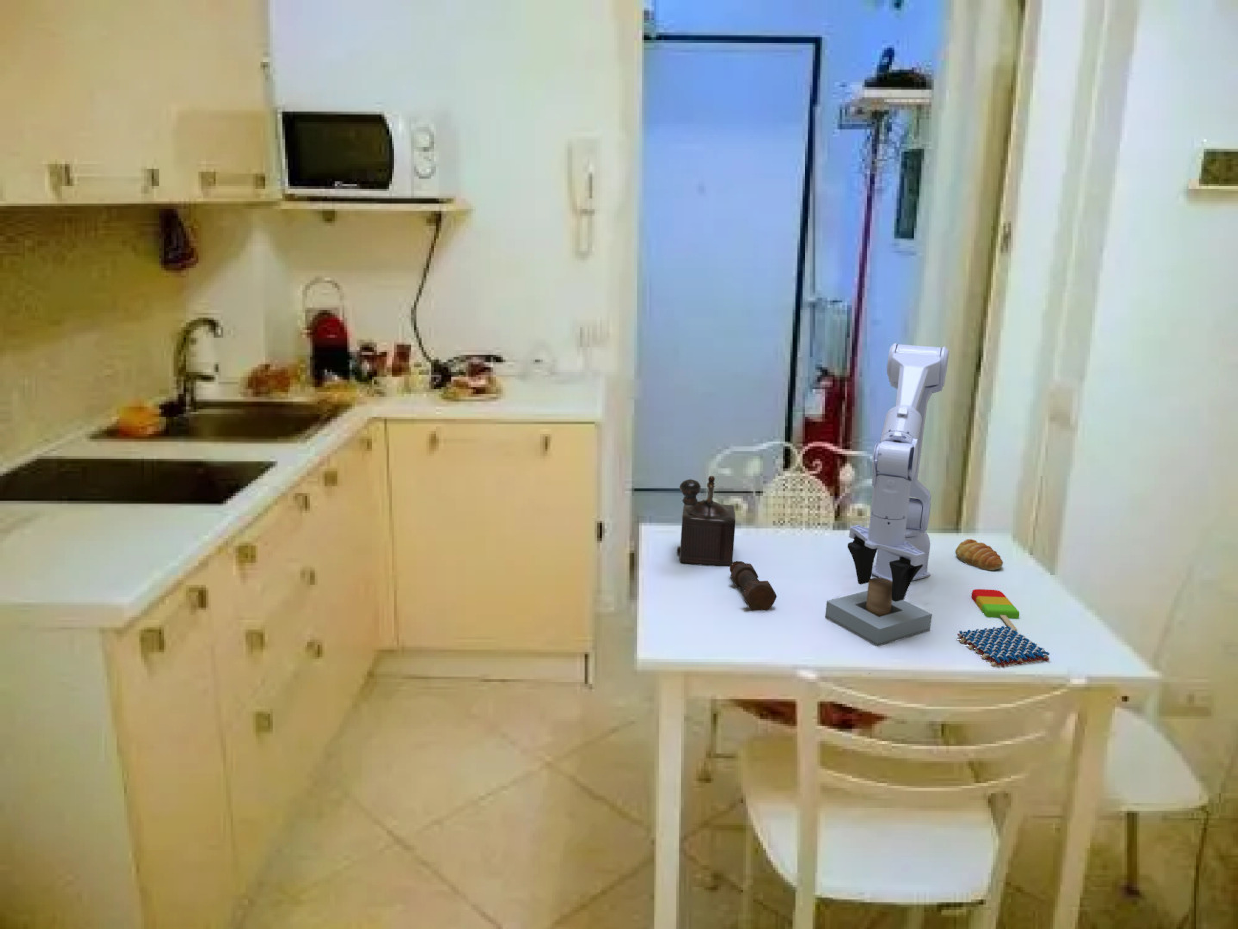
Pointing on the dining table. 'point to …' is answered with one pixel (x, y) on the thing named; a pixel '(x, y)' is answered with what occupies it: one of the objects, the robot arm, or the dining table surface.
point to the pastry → (978, 555)
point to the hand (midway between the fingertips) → (880, 591)
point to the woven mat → (1003, 646)
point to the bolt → (752, 586)
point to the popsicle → (995, 605)
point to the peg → (879, 596)
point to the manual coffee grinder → (705, 527)
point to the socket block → (878, 619)
